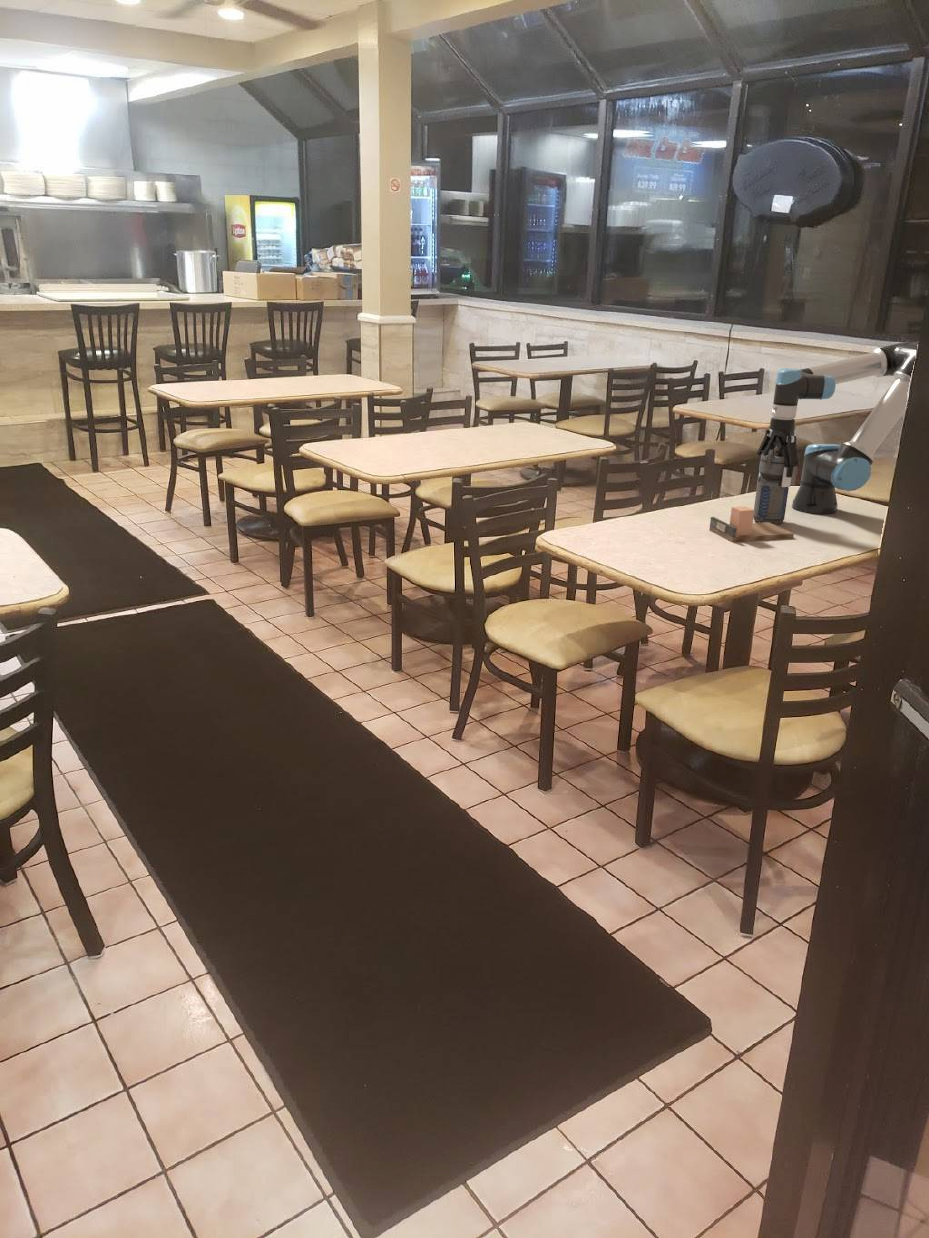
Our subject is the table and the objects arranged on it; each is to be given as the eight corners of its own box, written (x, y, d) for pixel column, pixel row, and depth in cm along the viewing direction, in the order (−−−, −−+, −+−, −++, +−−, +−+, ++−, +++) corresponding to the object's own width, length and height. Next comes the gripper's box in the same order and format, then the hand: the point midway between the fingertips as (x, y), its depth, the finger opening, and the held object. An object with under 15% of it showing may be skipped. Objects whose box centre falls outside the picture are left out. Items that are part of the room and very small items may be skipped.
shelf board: (768, 526, 315) (770, 513, 314) (793, 538, 303) (795, 524, 301) (708, 530, 309) (710, 516, 308) (731, 542, 297) (732, 528, 295)
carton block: (742, 530, 304) (745, 506, 301) (751, 534, 300) (754, 510, 297) (728, 531, 303) (731, 507, 300) (737, 535, 298) (740, 510, 296)
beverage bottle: (791, 520, 323) (802, 447, 314) (774, 527, 314) (784, 452, 305) (764, 515, 329) (773, 443, 321) (746, 522, 320) (755, 447, 311)
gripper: (752, 412, 320) (743, 474, 327) (795, 424, 297) (785, 491, 305) (771, 411, 321) (762, 474, 329) (816, 423, 299) (805, 490, 307)
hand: (773, 482), depth 317 cm, fingers open, 13 cm apart
